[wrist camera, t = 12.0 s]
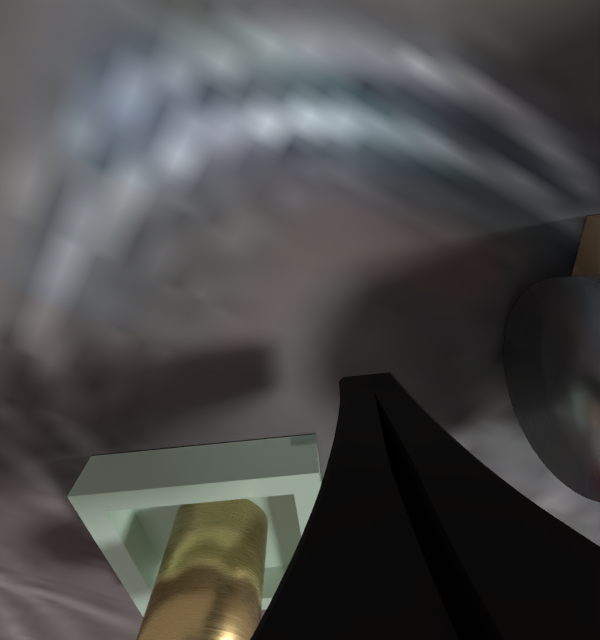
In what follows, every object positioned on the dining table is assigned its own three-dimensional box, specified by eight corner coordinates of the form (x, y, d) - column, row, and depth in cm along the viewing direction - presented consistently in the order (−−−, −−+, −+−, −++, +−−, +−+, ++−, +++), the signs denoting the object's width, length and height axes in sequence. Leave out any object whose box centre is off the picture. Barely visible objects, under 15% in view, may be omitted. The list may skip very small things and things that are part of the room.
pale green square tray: (331, 562, 19) (335, 603, 17) (157, 577, 19) (144, 619, 17) (315, 434, 14) (319, 472, 13) (91, 456, 15) (67, 496, 13)
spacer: (275, 545, 17) (263, 741, 11) (191, 552, 17) (141, 746, 12) (258, 488, 15) (234, 692, 10) (163, 497, 15) (89, 700, 10)
